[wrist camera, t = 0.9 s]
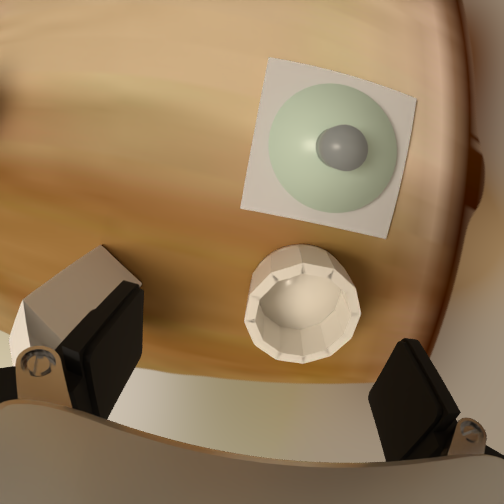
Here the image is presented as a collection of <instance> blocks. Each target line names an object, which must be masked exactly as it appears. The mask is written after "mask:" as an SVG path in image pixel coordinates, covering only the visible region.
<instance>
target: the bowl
mask: <svg viewBox="0 0 504 504" xmlns="http://www.w3.org/2000/svg"><path fill="white" fill-rule="evenodd" d="M360 315H361V311H360V306H359V301H358V297H357V292H356V288H355V286H354V284H353V283H352V281H351V279H350V277H349V275H348V274H347V272H346V270H345V268H344V267H343V266H342V265H341V264H340V263H339V262H338V260H337V259H336V258H335V257H334V256H333V255H331V254H330V253H329V252H327V251H326V250H324V249H322V248H319V247H317V246H313V245H308V244H293V245H288V246H284V247H281V248H279V249H277V250H275V251H273V252H271V253H270V254H269V255H267V256H266V257H265V258H264V259H263V260H262V261H261V262H260V263H259V265H258V266H257V268H256V269H255V271H254V272H253V274H252V279H251V284H250V289H249V294H248V300H247V306H246V313H245V319H244V322H245V324H246V327H247V329H248V331H249V334H250V336H251V338H252V340H253V343H254V344H255V345H256V346H257V347H258V348H260V349H261V350H263V351H264V352H266V353H267V354H269V355H270V356H271V357H273V358H274V359H276V360H282V361H289V362H296V363H307V362H311V361H315V360H318V359H322V358H325V357H329V356H331V355H332V354H333V353H335V352H336V351H337V350H338V349H339V348H341V347H342V346H343V345H344V344H345V343H346V342H348V341H349V340H350V339H351V338H352V336H353V333H354V331H355V328H356V326H357V323H358V321H359V318H360Z"/></svg>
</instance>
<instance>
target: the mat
mask: <svg viewBox="0 0 504 504" xmlns="http://www.w3.org/2000/svg"><path fill="white" fill-rule="evenodd" d="M328 83H333V84H341V85H346V86H349V87H352V88H355V89H357V90H359V91H361V92H363V93H365V94H366V95H368V96H369V97H370V98H372V99H373V100H374V101H375V102H376V103H377V104H378V105H379V106H380V107H381V108H382V110H383V111H384V112H385V114H386V115H387V117H388V119H389V121H390V123H391V125H392V127H393V130H394V133H395V138H396V144H397V159H396V165H395V169H394V172H393V175H392V177H391V179H390V181H389V183H388V184H387V186H386V188H385V189H384V190H383V191H382V193H381V194H380V195H379V196H378V197H377V198H376V199H374V200H373V201H372V202H370V203H369V204H367V205H365V206H363V207H361V208H359V209H356V210H353V211H349V212H344V213H328V212H321V211H318V210H314V209H312V208H310V207H307V206H305V205H304V204H302V203H300V202H298V201H297V200H296V199H295V198H293V197H292V196H291V195H290V194H289V193H288V192H287V191H286V190H285V189H284V187H283V186H282V185H281V184H280V182H279V180H278V179H277V177H276V175H275V173H274V170H273V168H272V165H271V161H270V157H269V144H268V141H269V133H270V129H271V126H272V123H273V120H274V118H275V116H276V114H277V113H278V111H279V109H280V108H281V107H282V106H283V104H284V103H285V102H286V101H287V100H288V99H289V98H290V97H292V96H293V95H294V94H296V93H297V92H299V91H301V90H303V89H305V88H308V87H310V86H313V85H318V84H328ZM416 99H417V98H414V97H412V96H409V95H407V94H404V93H401V92H399V91H396V90H393V89H391V88H388V87H385V86H382V85H379V84H376V83H373V82H370V81H367V80H364V79H360V78H357V77H354V76H350V75H347V74H343V73H340V72H336V71H332V70H328V69H324V68H320V67H316V66H312V65H307V64H303V63H298V62H293V61H288V60H283V59H277V58H271V57H269V59H268V64H267V69H266V74H265V79H264V84H263V89H262V94H261V99H260V104H259V109H258V115H257V120H256V125H255V130H254V136H253V141H252V146H251V152H250V157H249V163H248V168H247V173H246V179H245V185H244V190H243V196H242V201H241V207H240V208H241V209H246V210H251V211H257V212H262V213H267V214H272V215H277V216H282V217H287V218H292V219H297V220H302V221H307V222H311V223H316V224H321V225H326V226H330V227H335V228H339V229H344V230H349V231H353V232H357V233H362V234H366V235H371V236H375V237H379V238H383V239H386V237H387V234H388V230H389V227H390V223H391V220H392V216H393V212H394V208H395V205H396V201H397V197H398V193H399V189H400V184H401V180H402V176H403V171H404V167H405V162H406V157H407V152H408V147H409V142H410V137H411V131H412V125H413V119H414V113H415V106H416Z"/></svg>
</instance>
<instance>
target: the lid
mask: <svg viewBox="0 0 504 504" xmlns="http://www.w3.org/2000/svg"><path fill="white" fill-rule="evenodd" d="M268 144H269V157H270V161H271V165H272V168H273V170H274V173H275V175H276V177H277V179H278V180H279V182H280V184H281V185H282V186H283V187H284V189H285V190H286V191H287V192H288V193H289V194H290V195H291V196H292V197H293V198H295V199H296V200H297V201H298V202H300V203H302V204H304V205H305V206H307V207H310V208H312V209H314V210H318V211H321V212H328V213H344V212H349V211H353V210H356V209H359V208H361V207H363V206H365V205H367V204H369V203H370V202H372V201H373V200H374V199H376V198H377V197H378V196H379V195H380V194H381V193H382V191H383V190H384V189H385V188H386V186H387V184H388V183H389V181H390V179H391V177H392V175H393V172H394V169H395V165H396V159H397V144H396V138H395V133H394V130H393V127H392V125H391V123H390V121H389V119H388V117H387V115H386V114H385V112H384V111H383V110H382V108H381V107H380V106H379V105H378V104H377V103H376V102H375V101H374V100H373V99H372V98H370V97H369V96H368V95H366V94H365V93H363V92H361V91H359V90H357V89H355V88H352V87H349V86H346V85H341V84H333V83H328V84H318V85H313V86H310V87H308V88H305V89H303V90H301V91H299V92H297V93H296V94H294V95H293V96H292V97H290V98H289V99H288V100H287V101H286V102H285V103H284V104H283V106H282V107H281V108H280V109H279V111H278V113H277V114H276V116H275V118H274V120H273V123H272V126H271V129H270V133H269V141H268Z"/></svg>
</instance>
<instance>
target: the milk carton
mask: <svg viewBox="0 0 504 504" xmlns="http://www.w3.org/2000/svg"><path fill="white" fill-rule="evenodd" d="M123 280H125V281H129V282H132V283H136V284H139V286H141V285H142V283H141V282H140V281H139V280H138V279H137V278H136V277H135V276H134V275H132V274H131V273H130V272H129V271H128V270H127V269H126V268H125V267H124V266H123V265H122V264H121V263H120V262H119V261H117V260H116V259H115V258H114V257H113V256H112V255H111V254H110V253H109V252H108V251H107V250H106V249H105V248H104V247H103V246H102V245H99V246H98V247H96V248H95V249H93V250H92V251H90V252H89V253H87V254H86V255H84V256H83V257H81V258H80V259H78V260H77V261H75V262H74V263H72V264H71V265H70V266H68V267H67V268H65V269H64V270H62V271H61V272H60V273H58V274H57V275H55V276H54V277H53V278H51V279H50V280H48V281H47V282H46V283H44V284H43V285H42V286H40V287H39V288H38V289H36V290H35V291H34V292H32V293H31V294H30V295H28V296H27V297H26V298H24V299H23V300H22V302H21V305H20V308H19V311H18V313H17V316H16V319H15V322H14V325H13V328H12V331H11V334H10V338H9V344H10V350H11V356H12V361H13V366H16V365H15V364H16V359H17V357H18V355H19V354H20V353H21V352H22V351H23V350H25V349H27V348H29V347H33V346H45V347H49V348H51V349H53V350H55V349H56V348H57V347H58V345H59V344H60V343H61V342H62V341H63V340H64V339H65V338H66V337H67V336H68V334H69V333H70V332H71V331H72V330H73V329H74V328H75V327H76V326H77V325H78V324H79V323H80V321H81V320H82V319H83V318H84V317H85V316H86V315H87V314H88V313H89V312H90V311H91V310H93V309H96V308H97V307H98V306H99V305H100V303H101V302H102V301H103V300H104V299H105V298H106V297H107V296H108V295H109V294H110V293H111V292H112V291H113V290H114V289H115V288H116V287H117V286H118V285H119V284H120V283H121V282H122V281H123Z"/></svg>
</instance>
